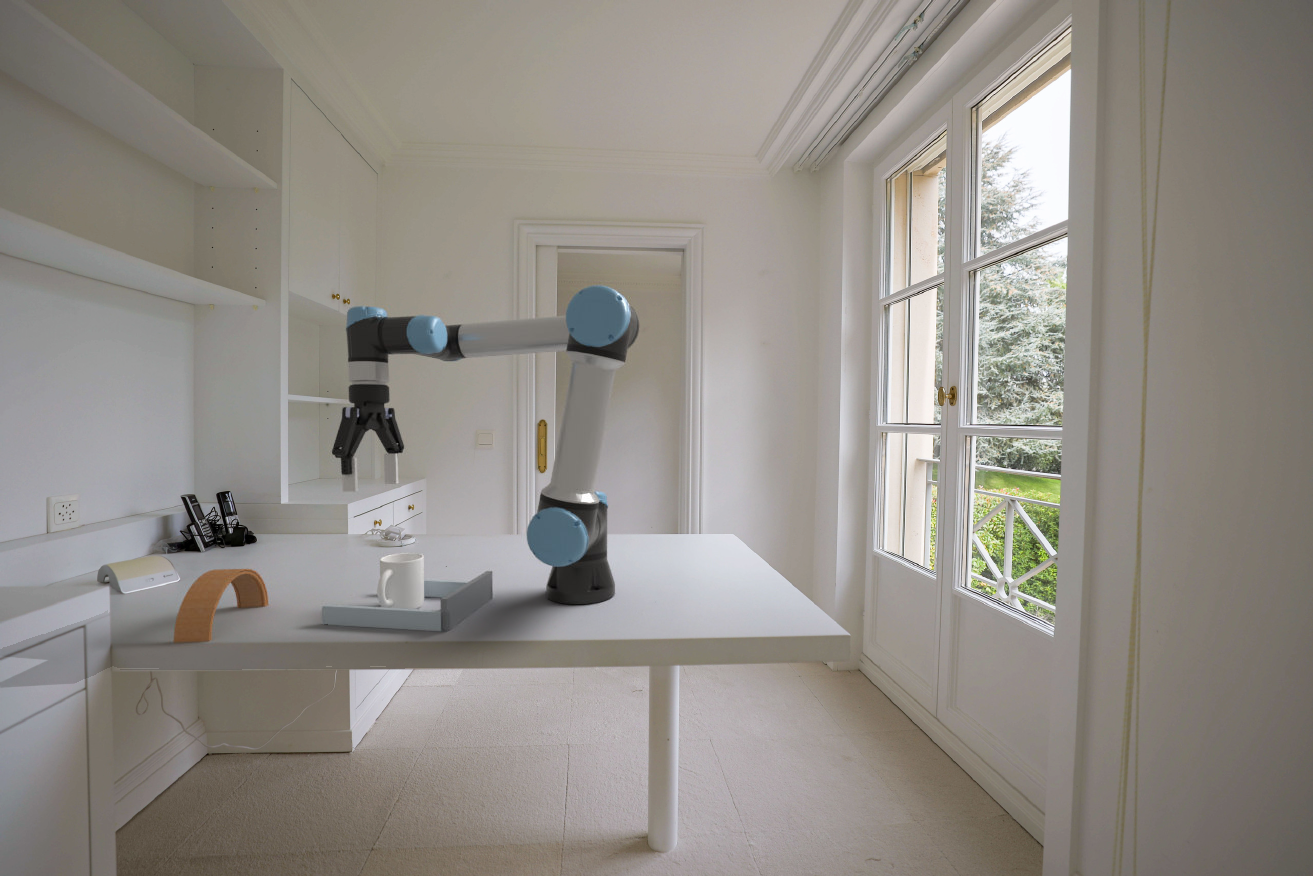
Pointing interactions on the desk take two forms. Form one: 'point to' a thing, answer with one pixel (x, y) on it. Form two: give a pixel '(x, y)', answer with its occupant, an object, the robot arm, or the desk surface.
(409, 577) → the mug
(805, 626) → the desk surface
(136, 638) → the desk surface
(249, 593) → the arch
